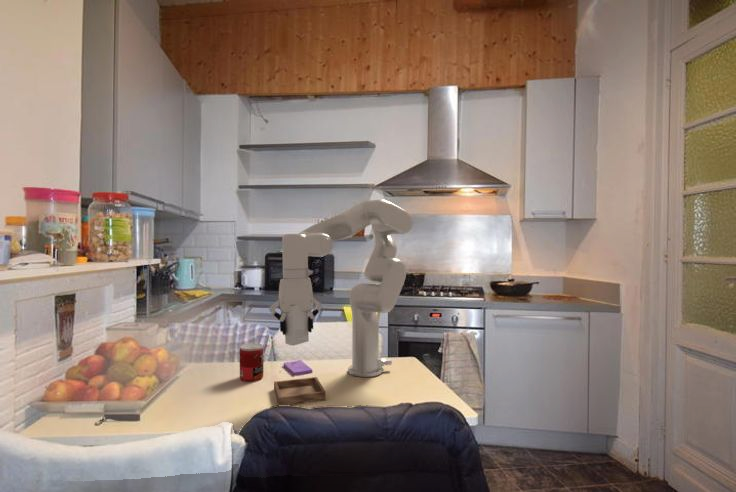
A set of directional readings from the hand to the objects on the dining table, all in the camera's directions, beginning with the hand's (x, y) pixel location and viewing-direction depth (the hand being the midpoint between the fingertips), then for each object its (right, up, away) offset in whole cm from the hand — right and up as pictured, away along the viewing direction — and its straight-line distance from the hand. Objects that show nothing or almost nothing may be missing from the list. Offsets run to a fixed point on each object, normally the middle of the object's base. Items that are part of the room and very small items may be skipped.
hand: (296, 332), depth 121 cm
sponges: (-4, -20, +24) cm, 32 cm away
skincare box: (0, -3, 0) cm, 3 cm away
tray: (+1, -19, 0) cm, 19 cm away
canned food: (-18, -19, +15) cm, 30 cm away
